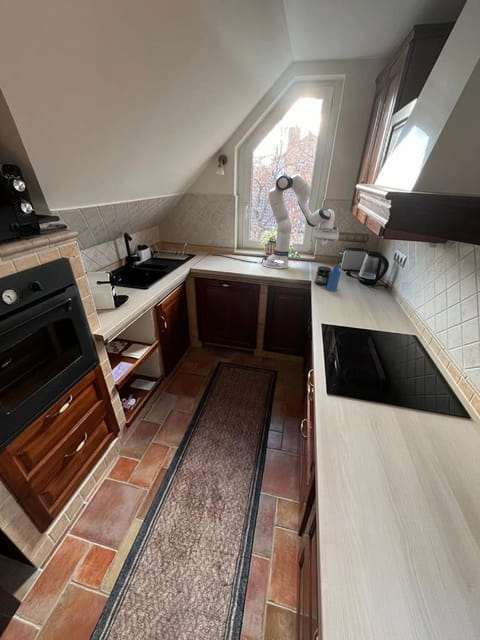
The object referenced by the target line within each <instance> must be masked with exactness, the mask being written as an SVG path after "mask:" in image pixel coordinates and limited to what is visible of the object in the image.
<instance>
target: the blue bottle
mask: <svg viewBox="0 0 480 640" xmlns="http://www.w3.org/2000/svg"><path fill="white" fill-rule="evenodd" d="M340 266H341V265H340V264H337V263H335V264H334V265H333V268H331V271H330V275H329V280H328V285H326V290H327V291H330V292H336V291H337V290H338V286H339V282H340V278H341V271H342V270H340Z"/></svg>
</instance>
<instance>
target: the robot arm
mask: <svg viewBox="0 0 480 640" xmlns="http://www.w3.org/2000/svg"><path fill="white" fill-rule="evenodd" d="M289 189H291V190H292V191H293V192H294V193H295V195H296V197H297V204H298V207H299V208H300V211H301V212H302V214H303V216H304V218H305V220H306V223H307V225H308V226H309V227H311V228H314V229H313V231H312V236H311V238H312V240H317V241H321V245H322V246H327V243H328V242H338V241H339V237H340V232H339V227H337V226H335V225H334V223H335V218H336V215H335V211H334V210H333V209H329V208H328V209H327V208H324V207H321V208H319V209H317V210H316V211H314V212H311V209H310V207H309V205H308V200H309V198H310V196H311V194H312V188H311V185H310V184H309V183H308V181H307V180H306V179H305V178H304V177H303V176H302V175H301V173H295V174H293V175H292V176H290V175H287V174H285V173H283V174H282V173H281V174H280V175H278V176H277V177H276V179H275V186H274V187H273V188H272V189H270V190H269V191H268V199H269V204H270V207H271V210H272V213H273V217H274V218H275V219H274V220H275V222H276V225H277V229H276V244H275V248H274V249H273V251H272V253H271V255H269V256H265V257H264V258H262V259H261V262H260V264H263V267H267V268H272V269H276V270H281V269H287V268H289V266H290V265H289V255H290V241H291V234H292V222H291V218H290V215H289V212H288V209H287V205H286V202H285V198H284V191H287V190H289ZM319 224H321V228H317V227H316V226H318V225H319ZM315 227H316V228H315ZM211 256H216V257H217V256H218V257H225V258H229V259H233V260H238V261H242V262H248V263H254V264H258V262H256V261H249V260H245V259H240V258H235V257H232V256H228V255H221V254H213V253H212V254H211Z"/></svg>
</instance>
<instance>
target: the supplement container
mask: <svg viewBox="0 0 480 640" xmlns="http://www.w3.org/2000/svg"><path fill="white" fill-rule="evenodd" d="M331 269H332V268H331V267H329V266H326V265H321V266H318V267H317V270H316V273H315V279H314V283H315V284H316V285H319V286H327V285H328V280H329V275H330V271H331Z"/></svg>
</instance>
